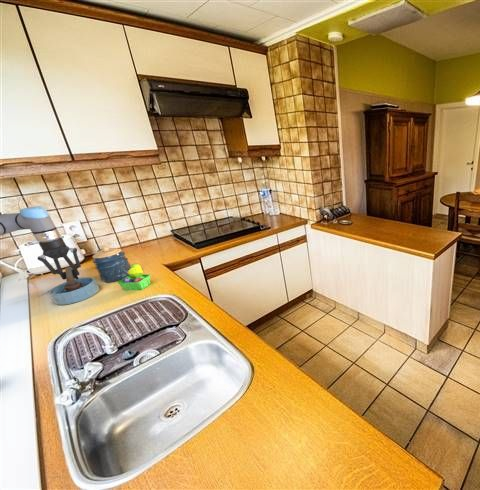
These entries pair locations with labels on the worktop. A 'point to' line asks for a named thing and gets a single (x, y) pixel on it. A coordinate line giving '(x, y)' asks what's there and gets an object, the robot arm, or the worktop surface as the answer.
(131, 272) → the fruit basket
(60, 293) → the bowl
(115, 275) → the canister
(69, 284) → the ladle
